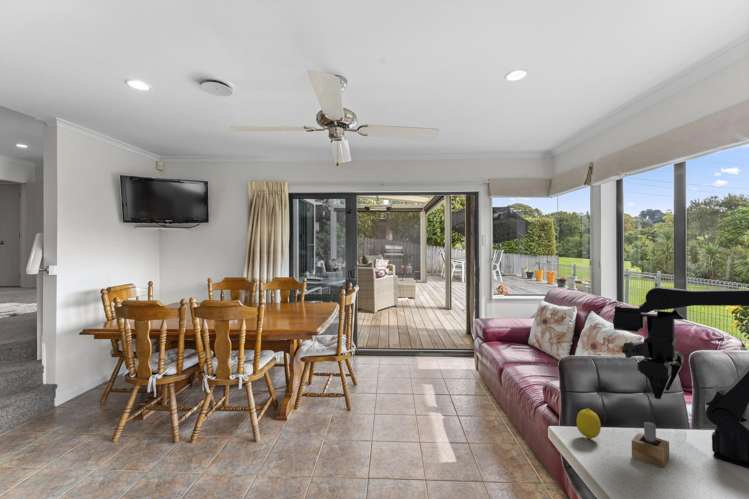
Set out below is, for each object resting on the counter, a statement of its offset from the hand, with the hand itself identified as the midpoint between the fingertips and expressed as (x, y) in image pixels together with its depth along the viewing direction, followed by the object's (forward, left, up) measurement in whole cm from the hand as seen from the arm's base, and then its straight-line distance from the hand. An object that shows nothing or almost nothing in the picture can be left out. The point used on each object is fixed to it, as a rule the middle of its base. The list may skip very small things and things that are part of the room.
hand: (662, 394), depth 94 cm
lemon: (+13, +14, -12) cm, 23 cm away
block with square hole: (0, +13, -12) cm, 17 cm away
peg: (0, +13, -12) cm, 17 cm away
